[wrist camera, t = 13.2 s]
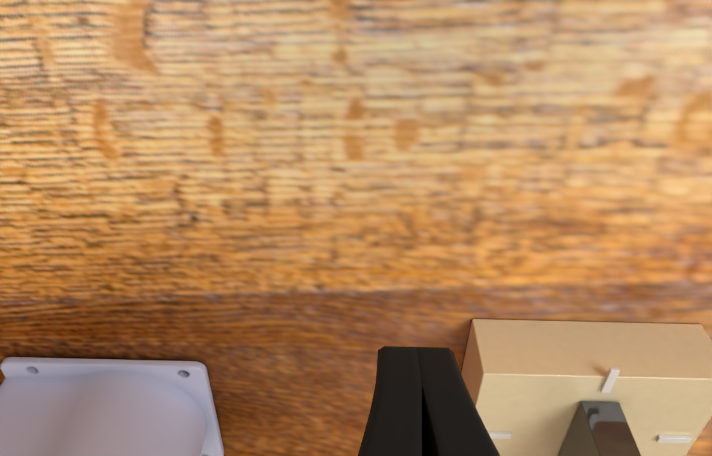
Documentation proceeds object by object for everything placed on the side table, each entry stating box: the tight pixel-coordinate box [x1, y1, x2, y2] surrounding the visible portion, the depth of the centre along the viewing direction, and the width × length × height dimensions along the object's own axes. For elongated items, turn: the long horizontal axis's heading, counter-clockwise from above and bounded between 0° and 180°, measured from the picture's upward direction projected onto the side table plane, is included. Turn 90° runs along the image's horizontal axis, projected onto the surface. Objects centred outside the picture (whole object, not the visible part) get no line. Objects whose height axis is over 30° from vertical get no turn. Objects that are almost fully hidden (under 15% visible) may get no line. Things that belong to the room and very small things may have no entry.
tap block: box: [461, 319, 712, 456], centre depth 26 cm, size 10×9×3 cm
